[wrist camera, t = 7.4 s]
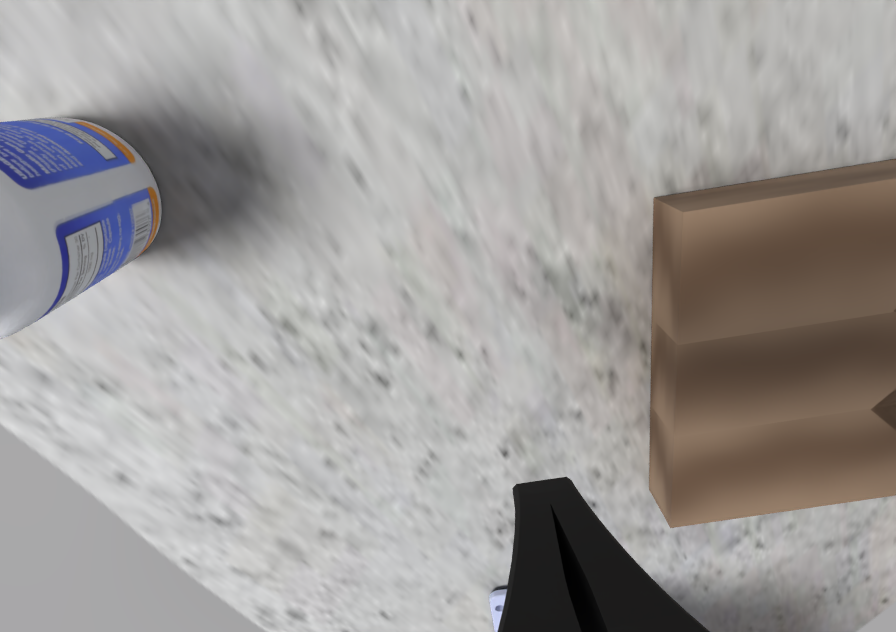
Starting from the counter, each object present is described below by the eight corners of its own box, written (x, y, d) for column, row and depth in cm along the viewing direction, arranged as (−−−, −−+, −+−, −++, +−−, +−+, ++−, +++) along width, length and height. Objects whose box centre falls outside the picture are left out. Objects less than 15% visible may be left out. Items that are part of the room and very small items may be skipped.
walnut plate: (995, 438, 26) (1051, 472, 24) (649, 489, 26) (670, 527, 24) (1109, 124, 20) (1199, 130, 17) (653, 197, 20) (683, 212, 18)
